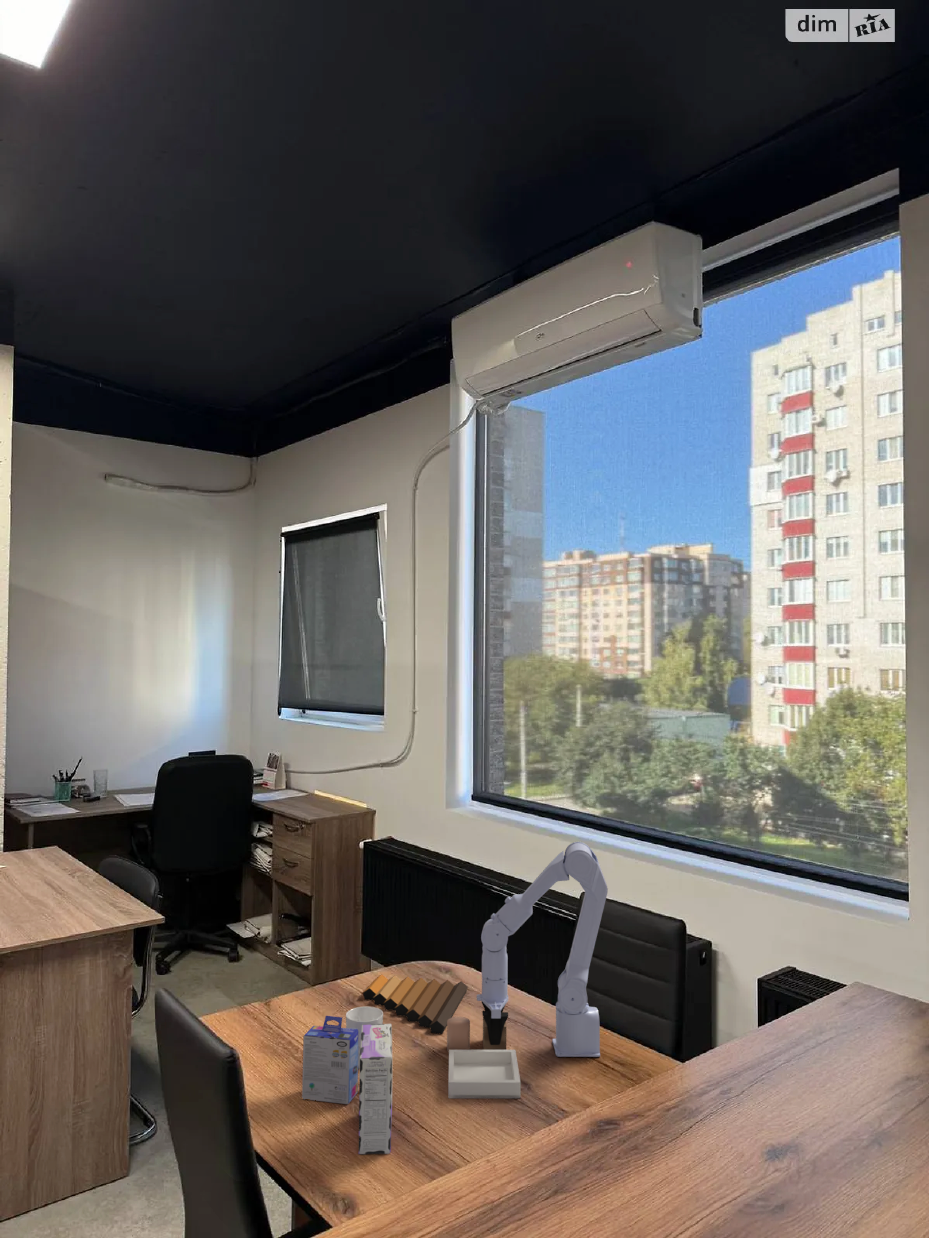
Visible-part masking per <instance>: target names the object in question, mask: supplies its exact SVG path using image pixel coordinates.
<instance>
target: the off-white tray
mask: <svg viewBox="0 0 929 1238" xmlns="http://www.w3.org/2000/svg"><path fill="white" fill-rule="evenodd" d="M447 1083H448V1089H447V1090H448V1099H521V1076H520V1070H519V1063H518V1058H517V1051H516V1049H506V1050H484V1049H470V1050H449V1052H448V1082H447Z"/></svg>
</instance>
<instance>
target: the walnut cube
mask: <svg viewBox="0 0 929 1238" xmlns="http://www.w3.org/2000/svg"><path fill="white" fill-rule="evenodd" d="M482 1045H483V1046H482V1047H483V1048H482V1050H507V1021H506V1022H505V1025H504V1028H503V1032H502V1038H501V1042H500V1045H490V1041H489V1035H488V1029H487V1025H486V1022H485V1020H484V1018H483V1017H482Z"/></svg>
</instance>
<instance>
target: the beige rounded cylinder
mask: <svg viewBox="0 0 929 1238" xmlns="http://www.w3.org/2000/svg"><path fill="white" fill-rule="evenodd" d="M470 1047H471V1020H470V1019H469V1018H467V1017H466V1016H465V1017H464V1016H452V1018H450V1019H448V1020H447V1027H446V1051H447V1052H448V1053H449V1050H471V1049H470Z"/></svg>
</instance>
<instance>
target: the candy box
mask: <svg viewBox="0 0 929 1238" xmlns="http://www.w3.org/2000/svg"><path fill="white" fill-rule="evenodd" d="M392 1028H393V1026H392V1023H383V1024H375V1025H362V1030H361V1043H360V1068H359V1069H358V1073H359V1074H358V1079H359V1080H358V1083H359V1084H358V1088H359V1089H358V1090H359V1091H358V1093H359V1095H358V1098H359V1099H358V1147H357V1148H358V1153H357V1154H358V1155H390V1153H391V1151H392V1120H393V1119H392V1117H393V1116H392V1115H393V1032H392V1031H393V1029H392Z"/></svg>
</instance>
